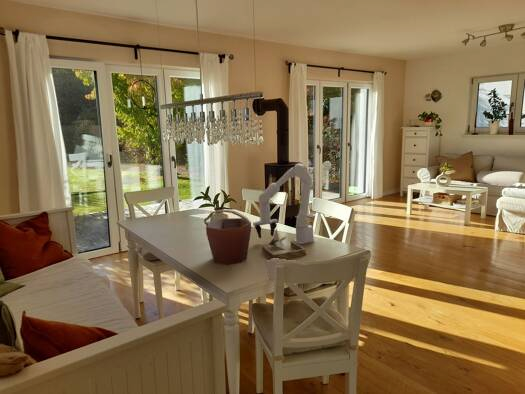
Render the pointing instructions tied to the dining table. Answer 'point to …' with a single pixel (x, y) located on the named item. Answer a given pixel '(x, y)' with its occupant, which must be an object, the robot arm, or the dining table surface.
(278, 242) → the origami crane
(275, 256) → the walnut u-shaped block
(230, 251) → the bucket
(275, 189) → the robot arm
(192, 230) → the dining table surface
